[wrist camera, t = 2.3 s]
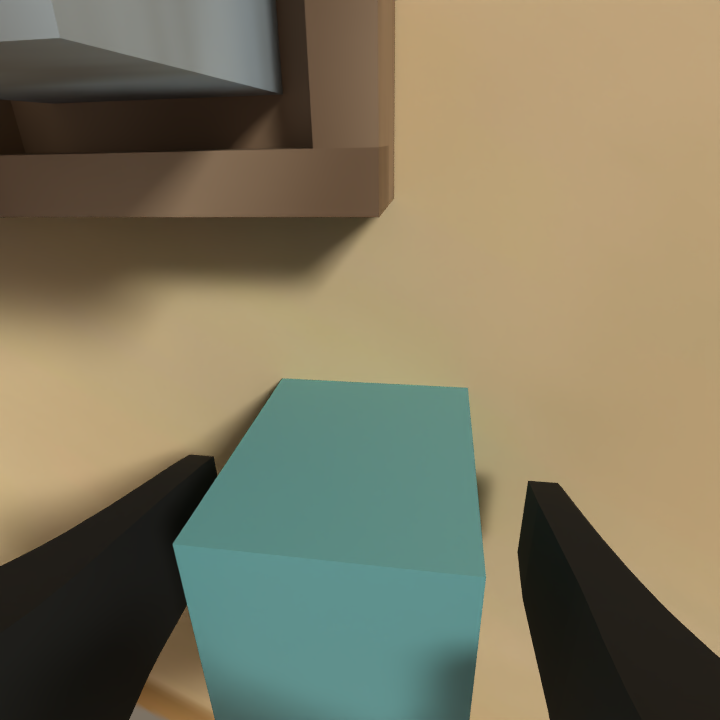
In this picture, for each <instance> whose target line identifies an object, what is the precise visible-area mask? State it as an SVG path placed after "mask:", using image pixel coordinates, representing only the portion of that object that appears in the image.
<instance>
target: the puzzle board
mask: <svg viewBox="0 0 720 720" xmlns="http://www.w3.org/2000/svg"><path fill="white" fill-rule="evenodd" d="M394 81H395V0H0V217H380V215H381V214H382V213H383V212H384V210H385V209H386V208H387V207H388V205H389V204H390V203H391V201H392V200H393V199H394Z"/></svg>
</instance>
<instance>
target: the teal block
mask: <svg viewBox="0 0 720 720" xmlns="http://www.w3.org/2000/svg"><path fill="white" fill-rule="evenodd" d="M173 548H174V552H175V556H176V560H177V565H178V569H179V573H180V577H181V581H182V585H183V589H184V594H185V598H186V602H187V606H188V610H189V614H190V618H191V622H192V627H193V631H194V635H195V639H196V643H197V647H198V651H199V656H200V660H201V664H202V668H203V672H204V676H205V680H206V685H207V689H208V693H209V697H210V701H211V705H212V709H213V714H214V718H215V720H469V719H470V710H471V701H472V693H473V684H474V675H475V667H476V658H477V650H478V641H479V632H480V624H481V615H482V606H483V598H484V589H485V581H486V574H485V563H484V553H483V543H482V532H481V522H480V511H479V501H478V490H477V480H476V469H475V459H474V448H473V438H472V428H471V417H470V407H469V396H468V388H459V387H440V386H420V385H400V384H380V383H361V382H341V381H321V380H302V379H282V380H281V381H280V383H279V384H278V386H277V387H276V389H275V390H274V392H273V393H272V395H271V396H270V398H269V399H268V401H267V402H266V404H265V405H264V407H263V408H262V410H261V411H260V413H259V414H258V416H257V417H256V419H255V420H254V422H253V423H252V425H251V426H250V428H249V429H248V431H247V433H246V434H245V436H244V437H243V439H242V440H241V442H240V443H239V445H238V446H237V448H236V449H235V451H234V452H233V454H232V455H231V457H230V458H229V460H228V461H227V463H226V464H225V466H224V467H223V469H222V470H221V472H220V473H219V475H218V476H217V478H216V479H215V481H214V482H213V484H212V485H211V487H210V488H209V490H208V491H207V493H206V494H205V496H204V497H203V499H202V500H201V502H200V503H199V505H198V506H197V508H196V510H195V511H194V513H193V514H192V516H191V517H190V519H189V520H188V522H187V523H186V525H185V526H184V528H183V529H182V531H181V532H180V534H179V535H178V537H177V538H176V540H175V541H174V543H173Z"/></svg>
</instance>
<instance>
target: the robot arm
mask: <svg viewBox="0 0 720 720" xmlns="http://www.w3.org/2000/svg"><path fill="white" fill-rule="evenodd" d="M216 478H217V473H216V467H215V461H214V457H213V456H200V455H189V456H187V457H185V458H183V459H181V460H180V461H178V462H177V463H175V464H173V465H172V466H170V467H169V468H167V469H166V470H164V471H162V472H161V473H159V474H158V475H156V476H155V477H153V478H152V479H150V480H149V481H147V482H146V483H144V484H143V485H141V486H140V487H138V488H136V489H135V490H133V491H132V492H130V493H129V494H127V495H126V496H124V497H123V498H121V499H119V500H118V501H116V502H115V503H113V504H112V505H110V506H109V507H107V508H105V509H104V510H102V511H100V512H99V513H97V514H95V515H94V516H92V517H90V518H89V519H87V520H85V521H84V522H82V523H80V524H79V525H77V526H75V527H74V528H72V529H70V530H69V531H67V532H65V533H63V534H62V535H60V536H58V537H56V538H55V539H53V540H51V541H49V542H47V543H45V544H44V545H42V546H40V547H38V548H36V549H34V550H32V551H30V552H28V553H26V554H24V555H22V556H20V557H18V558H16V559H14V560H12V561H10V562H8V563H6V564H4V565H2V566H0V720H129V719H130V716H131V714H132V712H133V709H134V707H135V705H136V703H137V701H138V698H139V696H140V694H141V692H142V689H143V687H144V685H145V682H146V680H147V678H148V676H149V674H150V672H151V670H152V668H153V666H154V664H155V662H156V660H157V658H158V656H159V654H160V652H161V651H162V649H163V647H164V645H165V643H166V642H167V640H168V638H169V636H170V634H171V633H172V631H173V629H174V627H175V625H176V624H177V622H178V620H179V618H180V617H181V615H182V613H183V611H184V609H185V608H186V606H187V602H186V598H185V594H184V589H183V585H182V581H181V577H180V573H179V569H178V565H177V560H176V556H175V552H174V548H173V543H174V541H175V540H176V538H177V537H178V535H179V534H180V532H181V531H182V529H183V528H184V526H185V525H186V523H187V522H188V520H189V519H190V517H191V516H192V514H193V513H194V511H195V510H196V508H197V506H198V505H199V503H200V502H201V500H202V499H203V497H204V496H205V494H206V493H207V491H208V490H209V488H210V487H211V485H212V484H213V482H214V481H215V479H216ZM518 561H519V570H520V580H521V588H522V597H523V602H524V607H525V611H526V616H527V620H528V625H529V629H530V634H531V638H532V642H533V647H534V651H535V656H536V660H537V664H538V669H539V673H540V677H541V682H542V686H543V691H544V695H545V699H546V704H547V708H548V713H549V718H550V720H720V658H719V657H718V656H717V655H716V654H715V653H714V652H712V651H711V650H710V649H709V648H708V647H707V646H706V645H705V644H704V643H703V642H701V641H700V640H699V639H698V638H697V637H696V636H695V635H694V634H693V633H692V632H691V631H690V630H688V629H687V628H686V627H685V626H684V625H683V624H682V623H681V622H680V621H679V620H678V619H677V618H676V617H674V616H673V615H672V614H671V613H670V612H669V611H668V610H667V609H666V608H665V607H664V606H663V605H662V604H661V603H660V602H659V601H658V600H657V599H656V597H655V596H654V595H653V594H652V593H651V592H650V591H649V590H648V589H647V588H646V587H645V586H644V585H643V584H642V583H641V582H640V581H639V580H638V578H637V577H636V576H635V575H634V574H633V573H632V572H631V571H630V570H629V569H628V568H627V566H626V565H625V564H624V563H623V562H622V561H621V559H620V558H619V557H618V556H617V555H616V554H615V553H614V551H613V550H612V549H611V548H610V547H609V546H608V544H607V543H606V542H605V541H604V540H603V539H602V537H601V536H600V535H599V534H598V533H597V531H596V530H595V529H594V528H593V526H592V525H591V524H590V523H589V521H588V520H587V519H586V518H585V516H584V515H583V514H582V513H581V511H580V510H579V509H578V508H577V506H576V505H575V504H574V502H573V501H572V500H571V499H570V497H569V496H568V495H567V493H566V492H565V491H564V490H563V488H562V487H561V486H560V485H559V484H558V483H549V482H536V481H528V486H527V492H526V499H525V506H524V513H523V519H522V526H521V533H520V539H519V546H518Z"/></svg>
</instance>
